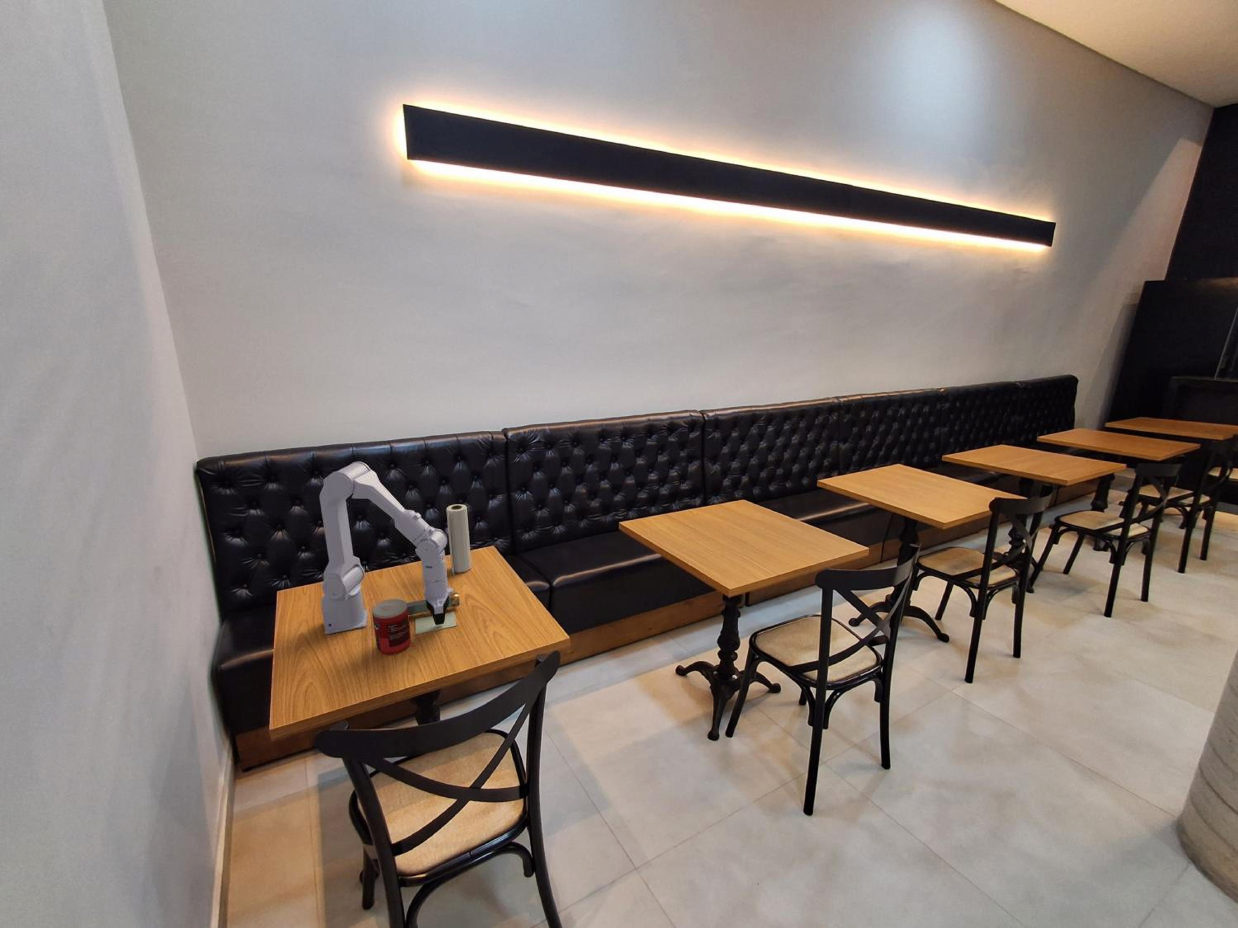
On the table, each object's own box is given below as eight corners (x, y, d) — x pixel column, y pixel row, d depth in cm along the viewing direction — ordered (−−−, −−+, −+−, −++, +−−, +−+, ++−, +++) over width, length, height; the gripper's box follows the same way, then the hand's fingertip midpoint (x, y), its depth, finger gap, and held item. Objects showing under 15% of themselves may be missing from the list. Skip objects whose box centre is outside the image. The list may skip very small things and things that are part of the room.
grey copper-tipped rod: (388, 619, 134) (387, 608, 133) (389, 614, 136) (387, 603, 136) (460, 606, 141) (459, 595, 140) (459, 601, 143) (458, 590, 142)
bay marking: (415, 634, 130) (415, 633, 130) (415, 619, 136) (415, 619, 136) (456, 626, 134) (456, 625, 134) (454, 612, 140) (453, 611, 140)
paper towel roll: (466, 562, 168) (461, 502, 162) (474, 568, 164) (470, 507, 158) (445, 569, 163) (439, 507, 157) (453, 576, 159) (447, 513, 153)
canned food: (386, 635, 129) (380, 597, 126) (416, 636, 129) (412, 598, 126) (371, 655, 122) (365, 615, 119) (403, 656, 122) (398, 616, 119)
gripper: (453, 587, 124) (458, 635, 128) (449, 561, 137) (453, 605, 141) (423, 593, 122) (428, 641, 126) (421, 566, 135) (426, 610, 138)
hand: (439, 623), depth 133 cm, fingers closed
